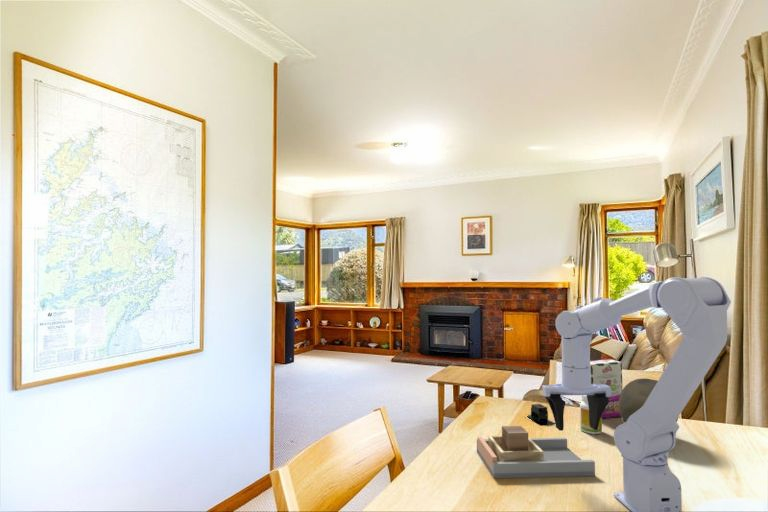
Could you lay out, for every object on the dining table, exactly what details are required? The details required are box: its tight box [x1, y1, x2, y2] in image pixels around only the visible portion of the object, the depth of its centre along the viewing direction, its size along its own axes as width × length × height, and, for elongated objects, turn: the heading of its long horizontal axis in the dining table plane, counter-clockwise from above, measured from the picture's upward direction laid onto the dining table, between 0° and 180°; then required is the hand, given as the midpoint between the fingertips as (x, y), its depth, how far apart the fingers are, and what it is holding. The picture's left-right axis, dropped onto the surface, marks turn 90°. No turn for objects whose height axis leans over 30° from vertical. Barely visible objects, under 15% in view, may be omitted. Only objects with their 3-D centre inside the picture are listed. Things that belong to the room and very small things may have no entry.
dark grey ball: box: [619, 378, 679, 424], centre depth 116 cm, size 14×14×15 cm
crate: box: [487, 435, 544, 462], centre depth 100 cm, size 9×9×3 cm
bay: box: [476, 436, 596, 479], centre depth 100 cm, size 14×22×4 cm, turn 93°
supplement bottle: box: [579, 395, 603, 435], centre depth 121 cm, size 5×5×10 cm
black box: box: [527, 403, 556, 427], centre depth 129 cm, size 12×7×5 cm, turn 15°
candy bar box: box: [581, 358, 623, 420], centre depth 133 cm, size 11×5×16 cm, turn 105°
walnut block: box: [501, 425, 529, 451], centre depth 100 cm, size 4×4×6 cm
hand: (576, 428), depth 96 cm, fingers open, 7 cm apart
